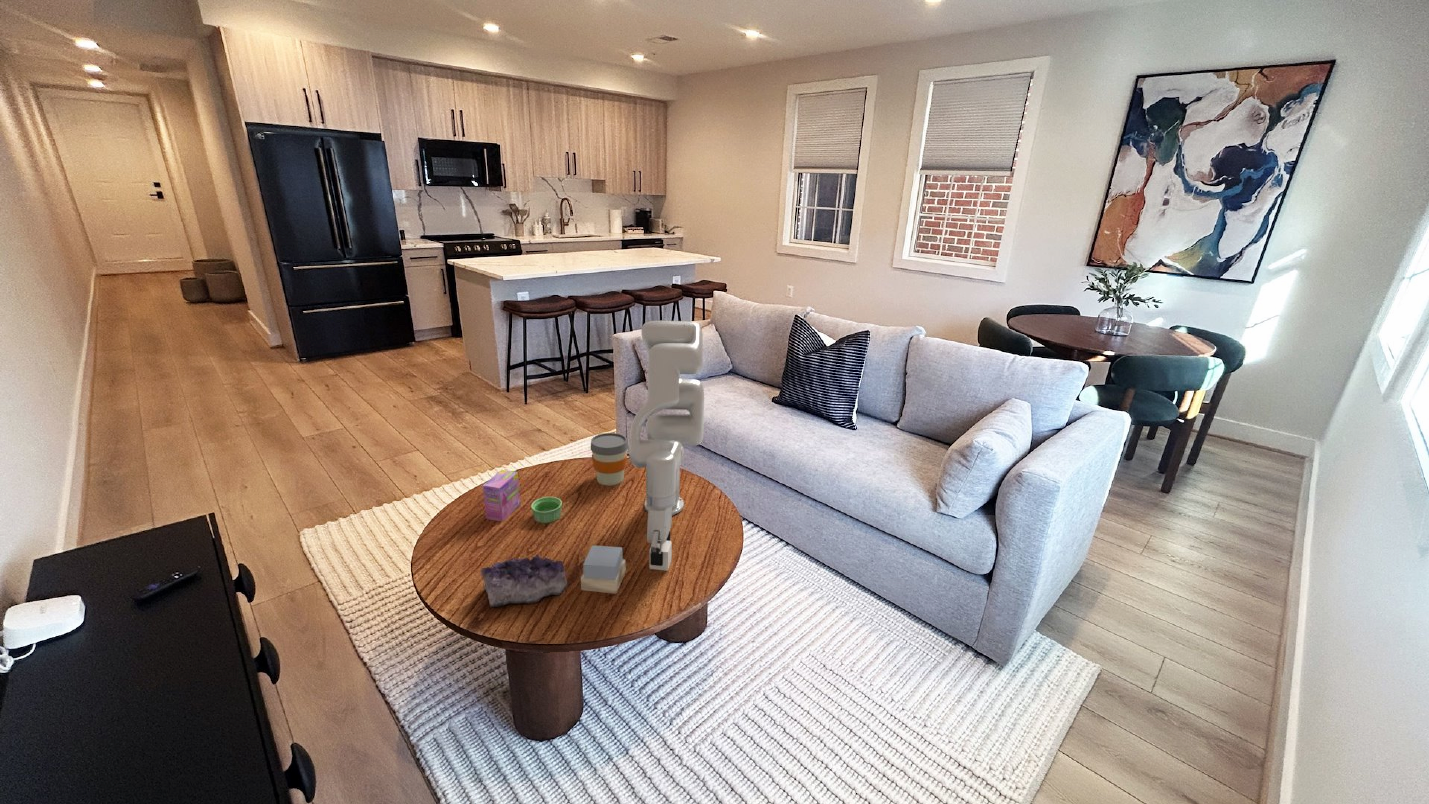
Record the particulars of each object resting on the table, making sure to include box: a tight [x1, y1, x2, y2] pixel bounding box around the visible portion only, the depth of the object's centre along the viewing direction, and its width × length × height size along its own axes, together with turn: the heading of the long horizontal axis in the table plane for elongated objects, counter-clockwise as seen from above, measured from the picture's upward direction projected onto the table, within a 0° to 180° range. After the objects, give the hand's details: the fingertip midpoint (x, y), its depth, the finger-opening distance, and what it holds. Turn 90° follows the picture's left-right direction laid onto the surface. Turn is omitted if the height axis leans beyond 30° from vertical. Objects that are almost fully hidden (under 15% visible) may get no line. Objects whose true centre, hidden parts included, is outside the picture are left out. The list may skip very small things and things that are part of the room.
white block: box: [648, 540, 673, 572], centre depth 149 cm, size 5×5×6 cm
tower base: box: [580, 558, 627, 595], centre depth 142 cm, size 9×9×4 cm
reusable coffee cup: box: [590, 432, 629, 486], centre depth 190 cm, size 13×12×15 cm
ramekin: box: [530, 496, 563, 524], centre depth 169 cm, size 9×9×4 cm
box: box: [482, 469, 521, 522], centre depth 169 cm, size 10×6×12 cm, turn 168°
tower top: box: [582, 545, 624, 580], centre depth 141 cm, size 8×8×4 cm
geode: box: [480, 554, 568, 608], centre depth 136 cm, size 20×12×10 cm, turn 106°
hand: (660, 553), depth 148 cm, fingers open, 9 cm apart
